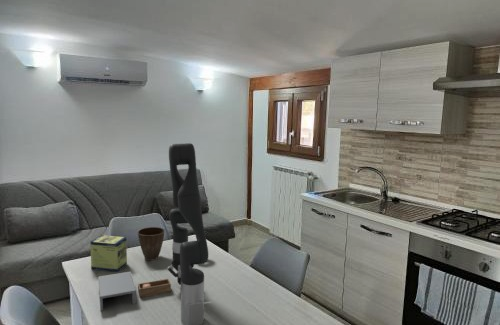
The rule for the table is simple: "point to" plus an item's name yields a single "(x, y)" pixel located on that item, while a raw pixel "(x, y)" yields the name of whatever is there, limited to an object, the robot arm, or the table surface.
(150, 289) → the tray
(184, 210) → the robot arm
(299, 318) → the table surface
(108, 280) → the counter shelf
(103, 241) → the protein box
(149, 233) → the plant pot
